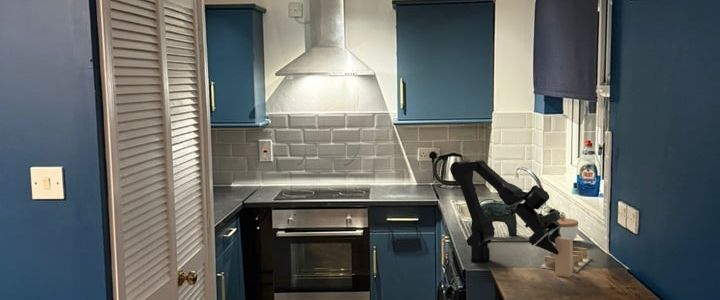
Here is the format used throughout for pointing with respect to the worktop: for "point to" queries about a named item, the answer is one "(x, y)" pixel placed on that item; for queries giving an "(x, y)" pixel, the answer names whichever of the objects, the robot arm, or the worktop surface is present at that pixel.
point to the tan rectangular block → (564, 257)
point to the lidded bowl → (568, 227)
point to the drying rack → (578, 259)
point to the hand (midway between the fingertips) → (562, 251)
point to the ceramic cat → (500, 214)
